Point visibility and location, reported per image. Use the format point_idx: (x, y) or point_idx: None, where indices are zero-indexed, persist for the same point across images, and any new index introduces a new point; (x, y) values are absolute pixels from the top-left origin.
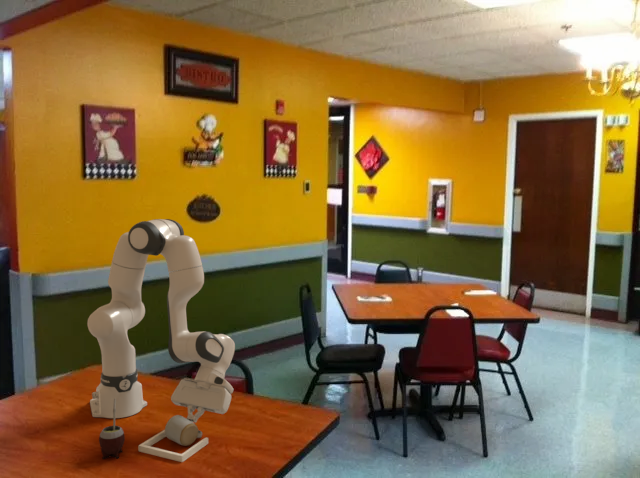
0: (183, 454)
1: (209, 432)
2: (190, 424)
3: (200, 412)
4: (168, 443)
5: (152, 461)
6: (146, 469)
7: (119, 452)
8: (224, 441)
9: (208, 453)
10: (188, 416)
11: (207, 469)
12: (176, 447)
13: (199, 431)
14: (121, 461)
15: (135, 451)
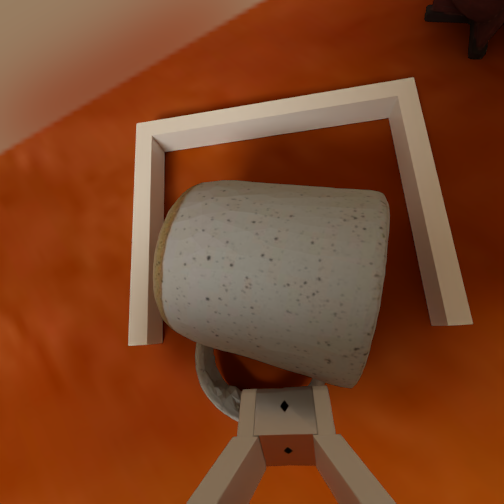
0: (141, 137)
1: None
2: (159, 243)
3: (200, 496)
4: None
5: (268, 80)
6: (241, 33)
7: (470, 41)
8: (81, 410)
9: (91, 257)
10: (318, 409)
11: (32, 155)
12: None
13: None
14: (386, 12)
15: None
